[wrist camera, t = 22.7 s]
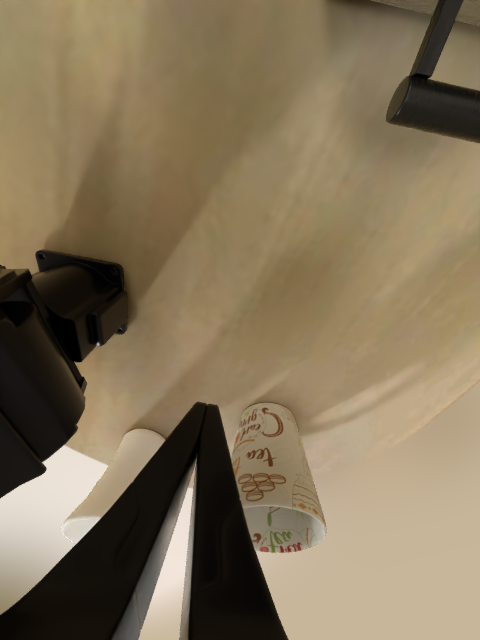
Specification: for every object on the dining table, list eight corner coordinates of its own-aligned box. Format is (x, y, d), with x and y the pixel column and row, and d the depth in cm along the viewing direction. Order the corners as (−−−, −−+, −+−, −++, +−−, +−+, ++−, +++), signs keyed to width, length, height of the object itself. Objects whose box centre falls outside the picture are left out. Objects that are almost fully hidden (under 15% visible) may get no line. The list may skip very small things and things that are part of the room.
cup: (113, 455, 33) (62, 553, 24) (114, 411, 28) (52, 513, 20) (178, 469, 34) (151, 569, 25) (189, 428, 29) (161, 534, 21)
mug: (304, 391, 25) (328, 505, 16) (306, 462, 31) (324, 572, 23) (223, 396, 26) (206, 505, 17) (241, 464, 32) (235, 569, 24)
